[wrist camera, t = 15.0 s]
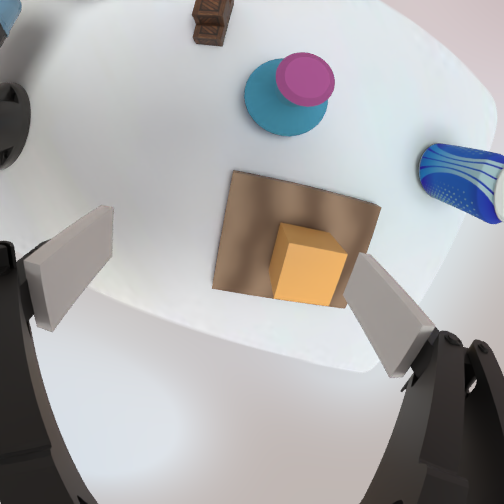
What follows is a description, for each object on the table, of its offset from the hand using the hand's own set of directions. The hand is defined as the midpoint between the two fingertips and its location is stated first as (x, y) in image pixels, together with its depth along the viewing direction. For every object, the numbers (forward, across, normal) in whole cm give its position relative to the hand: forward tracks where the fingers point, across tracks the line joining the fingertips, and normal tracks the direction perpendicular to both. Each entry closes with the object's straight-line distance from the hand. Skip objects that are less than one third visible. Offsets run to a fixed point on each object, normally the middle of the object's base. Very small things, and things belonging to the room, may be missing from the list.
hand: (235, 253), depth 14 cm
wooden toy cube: (+20, +10, -7) cm, 23 cm away
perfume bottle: (+23, +4, +11) cm, 26 cm away
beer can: (+23, +28, +9) cm, 38 cm away
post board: (+23, +10, -7) cm, 26 cm away
